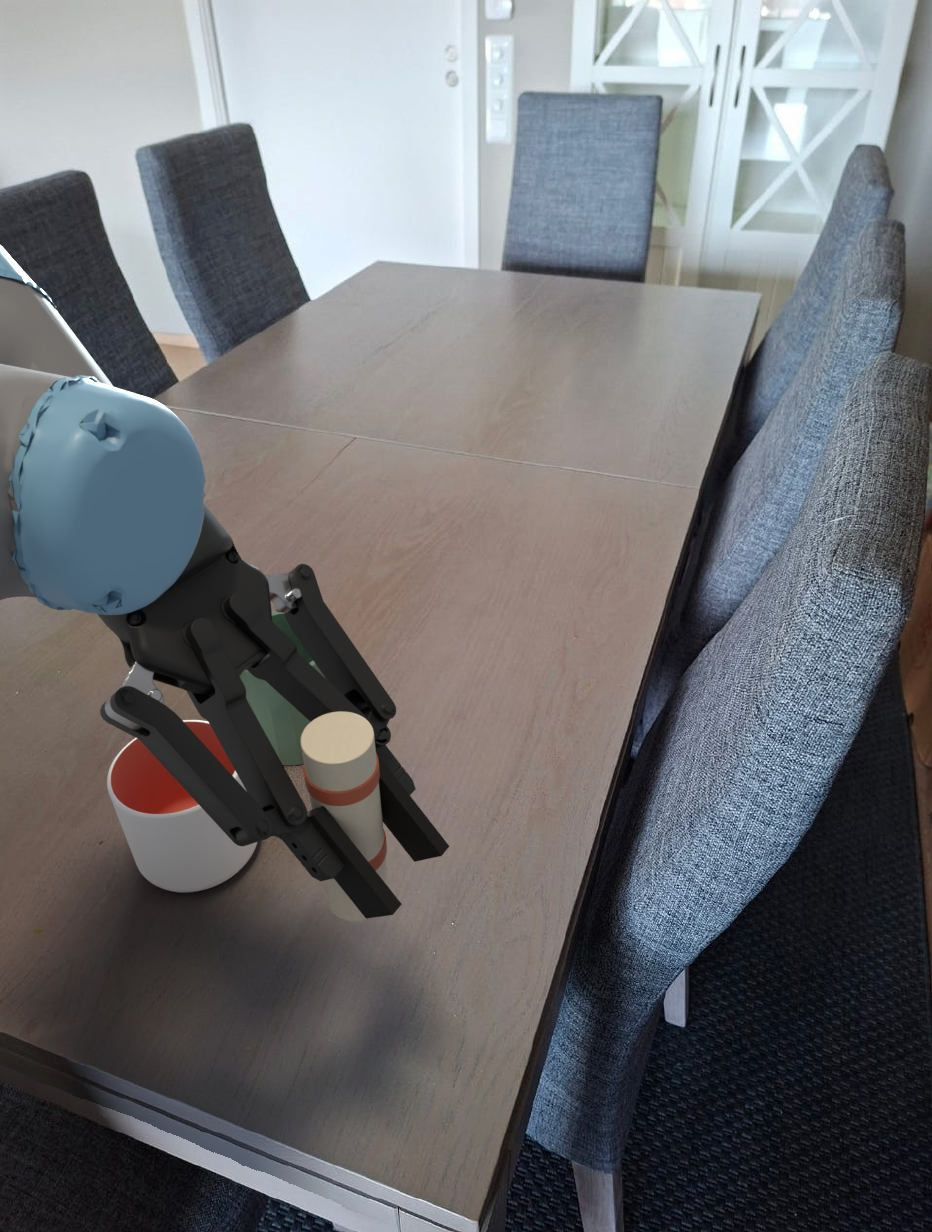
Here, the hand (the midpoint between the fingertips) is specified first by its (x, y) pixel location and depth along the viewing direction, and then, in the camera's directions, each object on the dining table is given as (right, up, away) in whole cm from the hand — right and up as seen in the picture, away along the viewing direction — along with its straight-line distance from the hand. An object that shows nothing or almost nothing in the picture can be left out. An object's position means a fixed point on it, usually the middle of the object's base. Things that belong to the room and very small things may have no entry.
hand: (407, 881), depth 47 cm
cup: (-19, -5, +26) cm, 33 cm away
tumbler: (-13, +3, +37) cm, 39 cm away
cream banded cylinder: (-3, -2, +4) cm, 6 cm away
